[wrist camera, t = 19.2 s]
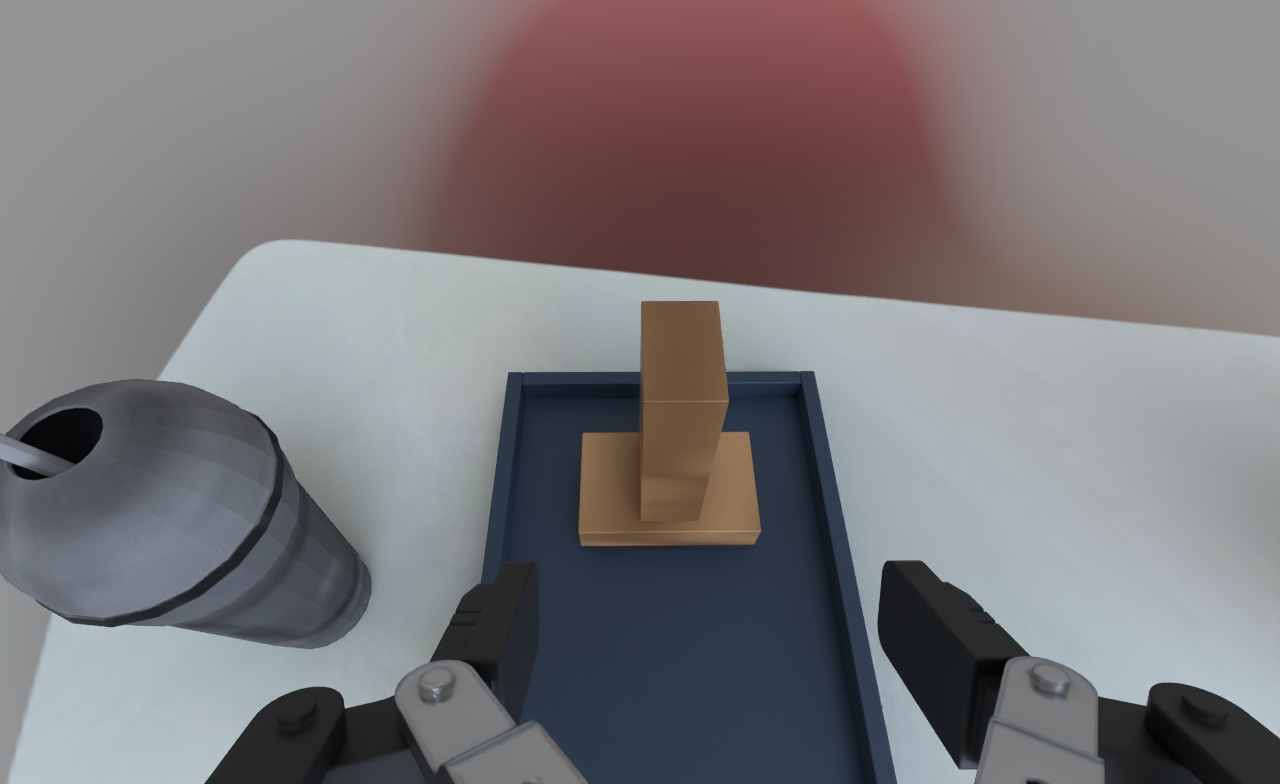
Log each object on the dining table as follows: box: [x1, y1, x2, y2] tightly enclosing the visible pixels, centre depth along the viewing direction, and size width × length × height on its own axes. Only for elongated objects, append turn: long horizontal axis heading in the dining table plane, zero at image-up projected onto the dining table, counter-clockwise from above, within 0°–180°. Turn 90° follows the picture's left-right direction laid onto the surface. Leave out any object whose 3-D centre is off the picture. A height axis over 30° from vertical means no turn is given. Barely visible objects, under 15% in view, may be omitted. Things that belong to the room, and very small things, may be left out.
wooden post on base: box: [578, 301, 761, 550], centre depth 25 cm, size 8×5×13 cm, turn 91°
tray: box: [481, 371, 897, 784], centre depth 27 cm, size 17×24×2 cm
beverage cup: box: [0, 379, 371, 649], centre depth 20 cm, size 7×7×20 cm
